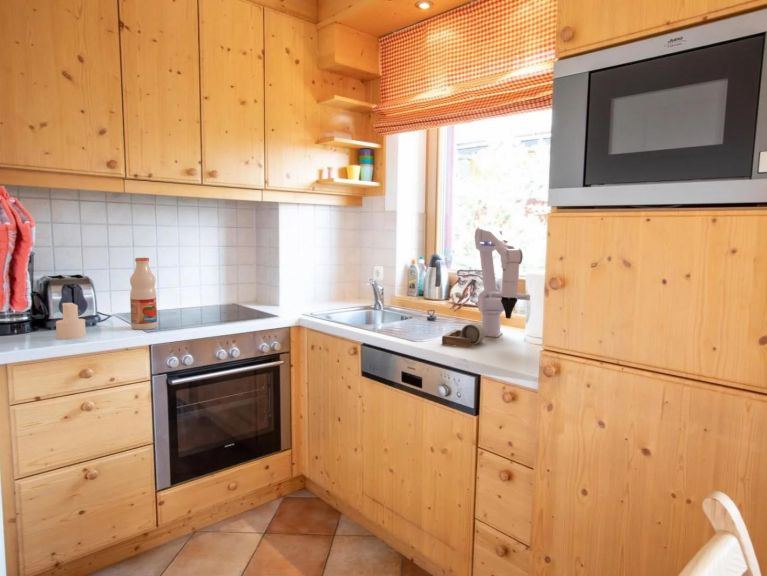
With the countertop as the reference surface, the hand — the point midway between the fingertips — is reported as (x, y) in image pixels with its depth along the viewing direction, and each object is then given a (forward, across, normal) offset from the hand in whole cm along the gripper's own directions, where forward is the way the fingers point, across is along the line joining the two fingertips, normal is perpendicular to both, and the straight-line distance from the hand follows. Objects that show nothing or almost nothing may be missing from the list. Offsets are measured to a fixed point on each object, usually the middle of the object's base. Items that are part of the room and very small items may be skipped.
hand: (508, 318), depth 186 cm
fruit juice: (+10, -134, -49) cm, 143 cm away
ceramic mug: (+10, -13, -5) cm, 17 cm away
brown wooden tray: (+10, -15, -5) cm, 19 cm away
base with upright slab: (+10, -141, -74) cm, 160 cm away
